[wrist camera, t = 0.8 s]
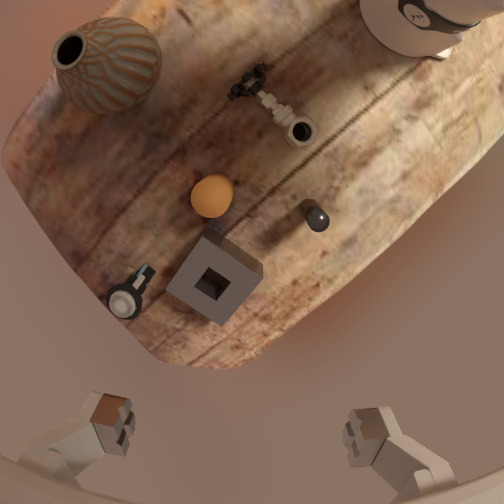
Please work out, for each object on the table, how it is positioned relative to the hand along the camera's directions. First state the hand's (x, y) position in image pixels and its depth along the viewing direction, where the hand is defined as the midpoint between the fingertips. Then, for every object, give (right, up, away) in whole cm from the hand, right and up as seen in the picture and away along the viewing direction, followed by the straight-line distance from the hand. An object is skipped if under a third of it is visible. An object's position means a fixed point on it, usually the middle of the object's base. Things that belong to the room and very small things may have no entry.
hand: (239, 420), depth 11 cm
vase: (-17, +32, +29) cm, 46 cm away
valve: (+4, +25, +31) cm, 40 cm away
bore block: (-5, +3, +39) cm, 39 cm away
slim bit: (+9, +12, +35) cm, 39 cm away
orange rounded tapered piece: (-5, +15, +35) cm, 38 cm away
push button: (-18, +2, +40) cm, 44 cm away
